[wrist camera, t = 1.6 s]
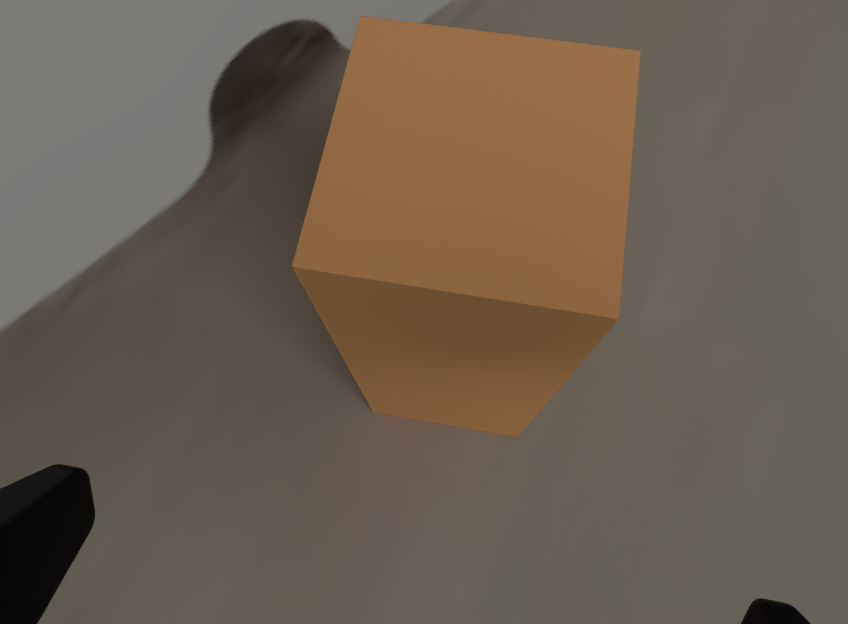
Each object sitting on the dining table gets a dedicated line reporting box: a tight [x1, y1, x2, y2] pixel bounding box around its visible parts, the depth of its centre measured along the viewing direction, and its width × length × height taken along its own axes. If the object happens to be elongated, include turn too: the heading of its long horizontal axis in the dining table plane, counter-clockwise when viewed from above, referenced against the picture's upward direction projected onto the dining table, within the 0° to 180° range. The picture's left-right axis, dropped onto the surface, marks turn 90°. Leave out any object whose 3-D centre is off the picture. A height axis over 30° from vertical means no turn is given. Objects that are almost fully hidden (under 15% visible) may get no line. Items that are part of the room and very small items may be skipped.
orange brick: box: [292, 16, 641, 437], centre depth 16 cm, size 5×5×12 cm
